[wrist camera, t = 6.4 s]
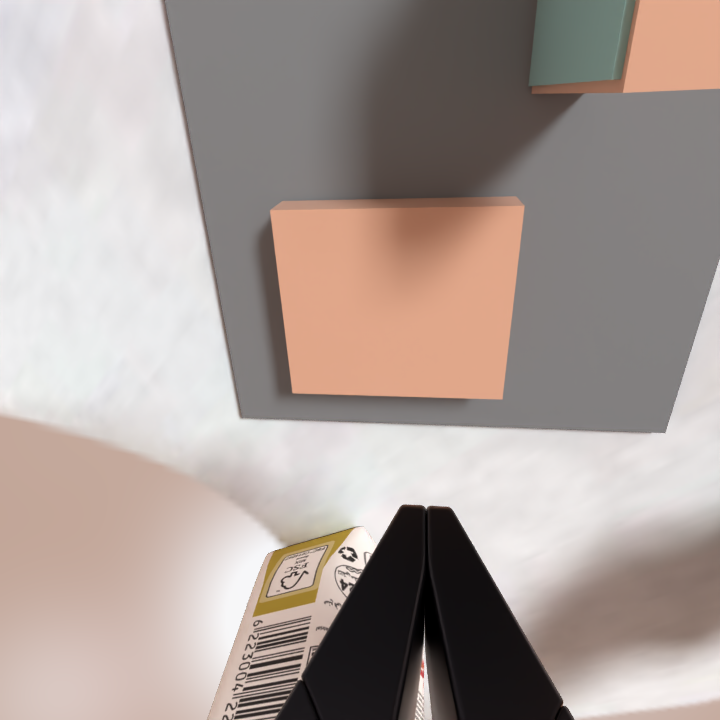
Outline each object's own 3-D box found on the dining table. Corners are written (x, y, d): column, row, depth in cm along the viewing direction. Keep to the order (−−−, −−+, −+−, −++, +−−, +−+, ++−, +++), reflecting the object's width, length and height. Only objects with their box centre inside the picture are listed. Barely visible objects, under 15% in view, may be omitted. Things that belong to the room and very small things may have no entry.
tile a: (502, 399, 18) (292, 393, 19) (496, 376, 20) (302, 371, 21) (524, 206, 15) (270, 210, 16) (515, 195, 16) (283, 200, 17)
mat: (661, 426, 20) (665, 432, 20) (244, 412, 23) (242, 417, 22) (927, -447, 10) (945, -467, 10) (112, -318, 12) (103, -329, 12)
